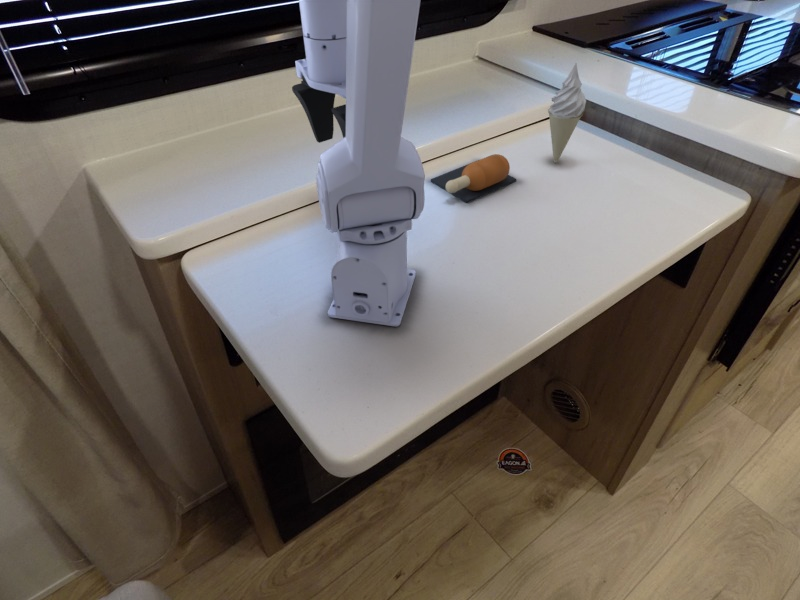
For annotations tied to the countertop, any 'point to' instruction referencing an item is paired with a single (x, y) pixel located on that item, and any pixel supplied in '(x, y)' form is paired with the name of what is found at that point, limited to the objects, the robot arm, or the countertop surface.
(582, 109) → the ice cream cone
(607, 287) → the countertop surface
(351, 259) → the robot arm
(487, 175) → the drumstick
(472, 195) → the mat
